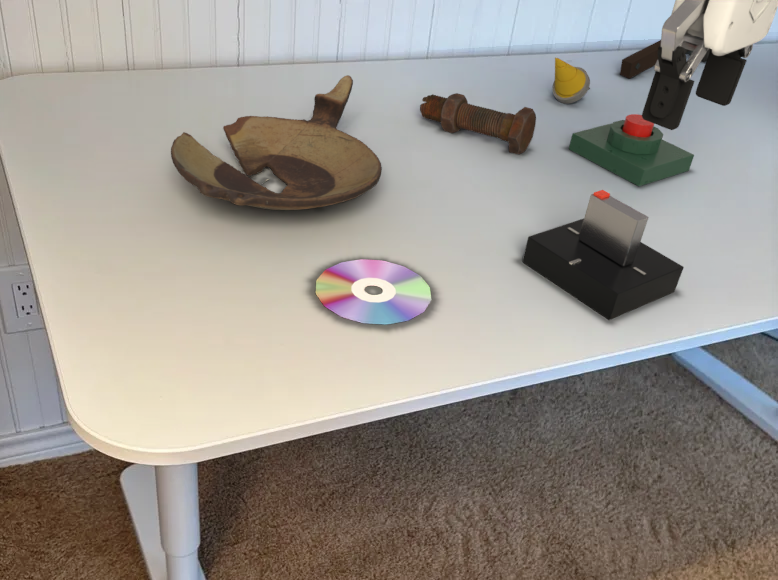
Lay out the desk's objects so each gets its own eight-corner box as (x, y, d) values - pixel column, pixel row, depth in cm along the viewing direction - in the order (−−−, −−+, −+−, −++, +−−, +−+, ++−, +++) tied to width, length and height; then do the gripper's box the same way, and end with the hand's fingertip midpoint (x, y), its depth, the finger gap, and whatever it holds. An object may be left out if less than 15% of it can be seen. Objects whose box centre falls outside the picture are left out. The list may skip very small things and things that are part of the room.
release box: (688, 170, 107) (699, 141, 104) (639, 186, 102) (648, 155, 99) (618, 136, 114) (626, 107, 111) (568, 149, 109) (575, 119, 106)
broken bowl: (126, 187, 91) (118, 119, 86) (321, 123, 108) (324, 63, 103) (262, 272, 80) (262, 199, 75) (454, 185, 98) (464, 122, 93)
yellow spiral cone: (594, 110, 122) (572, 70, 113) (559, 117, 124) (535, 78, 116) (597, 78, 123) (575, 36, 115) (562, 86, 126) (539, 45, 117)
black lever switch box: (675, 292, 84) (685, 265, 82) (608, 320, 79) (617, 292, 77) (587, 239, 91) (595, 212, 89) (521, 262, 86) (527, 235, 84)
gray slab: (633, 262, 81) (649, 214, 78) (623, 267, 81) (638, 218, 77) (588, 235, 85) (602, 188, 81) (578, 239, 84) (591, 191, 81)
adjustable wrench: (614, 101, 137) (712, 49, 146) (626, 107, 135) (725, 54, 144) (621, 51, 131) (723, 0, 139) (634, 57, 129) (736, 4, 138)
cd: (360, 247, 85) (360, 247, 85) (453, 288, 80) (453, 287, 80) (290, 292, 78) (290, 291, 78) (388, 339, 73) (389, 339, 73)
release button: (656, 136, 105) (660, 122, 104) (638, 141, 104) (642, 127, 102) (634, 125, 107) (638, 112, 106) (616, 130, 106) (620, 116, 104)
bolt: (424, 131, 114) (525, 159, 108) (410, 122, 109) (515, 151, 104) (437, 88, 112) (540, 114, 107) (424, 77, 108) (530, 104, 102)
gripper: (767, -102, 54) (677, 150, 65) (859, -115, 64) (767, 106, 75) (665, -125, 57) (596, 118, 68) (767, -134, 67) (693, 79, 79)
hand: (686, 111), depth 72 cm, fingers open, 9 cm apart
